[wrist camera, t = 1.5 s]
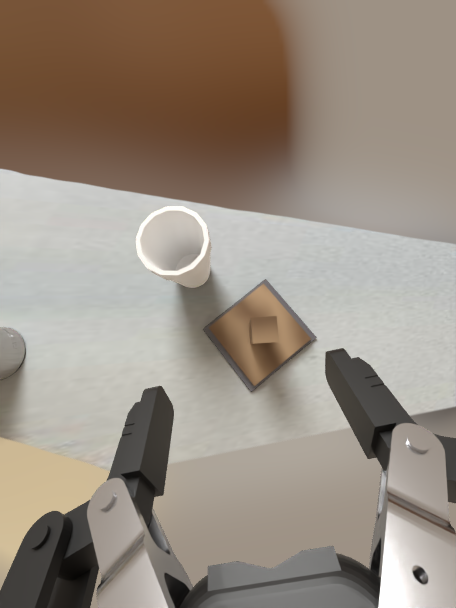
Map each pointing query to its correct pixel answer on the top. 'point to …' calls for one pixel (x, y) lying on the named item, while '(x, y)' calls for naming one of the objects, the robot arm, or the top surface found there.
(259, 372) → the lid
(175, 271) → the foam cup
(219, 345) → the mat
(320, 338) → the top surface
